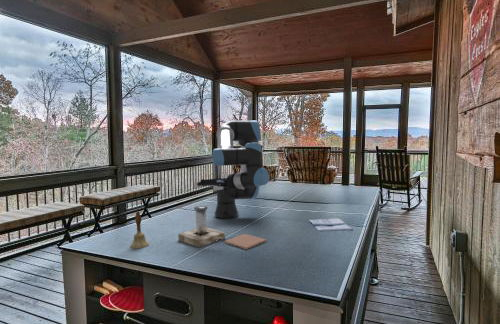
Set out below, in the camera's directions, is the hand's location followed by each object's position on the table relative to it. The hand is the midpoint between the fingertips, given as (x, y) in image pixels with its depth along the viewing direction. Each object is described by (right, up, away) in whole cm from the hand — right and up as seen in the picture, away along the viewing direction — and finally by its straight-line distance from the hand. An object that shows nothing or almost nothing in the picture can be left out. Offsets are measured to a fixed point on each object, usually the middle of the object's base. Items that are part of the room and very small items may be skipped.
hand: (204, 186), depth 150 cm
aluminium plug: (-1, -26, -2) cm, 26 cm away
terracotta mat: (+21, -26, -8) cm, 34 cm away
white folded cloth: (+67, -24, +18) cm, 74 cm away
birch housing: (-1, -26, -2) cm, 26 cm away
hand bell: (-29, -27, -9) cm, 41 cm away
